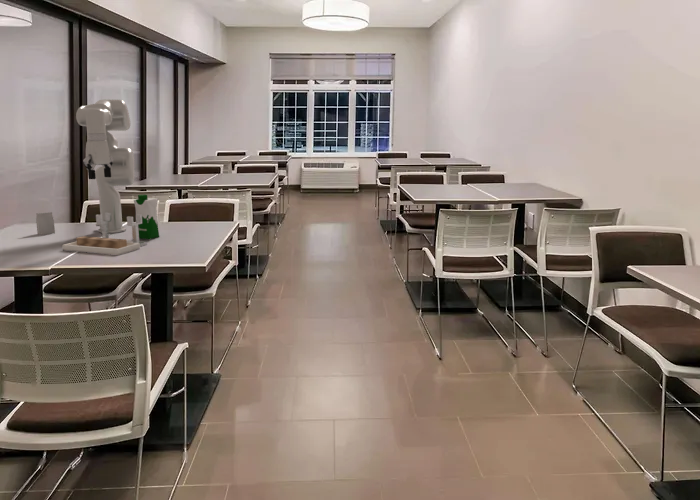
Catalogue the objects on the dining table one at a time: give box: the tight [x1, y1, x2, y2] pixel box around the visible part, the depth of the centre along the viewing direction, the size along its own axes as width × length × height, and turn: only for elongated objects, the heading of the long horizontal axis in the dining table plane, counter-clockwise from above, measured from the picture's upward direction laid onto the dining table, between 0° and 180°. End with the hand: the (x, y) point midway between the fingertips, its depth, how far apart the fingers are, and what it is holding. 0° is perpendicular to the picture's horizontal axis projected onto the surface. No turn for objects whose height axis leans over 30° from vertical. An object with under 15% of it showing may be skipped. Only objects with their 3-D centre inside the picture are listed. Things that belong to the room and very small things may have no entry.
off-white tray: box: [62, 240, 141, 256], centre depth 251 cm, size 28×14×2 cm, turn 72°
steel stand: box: [95, 213, 148, 248], centre depth 261 cm, size 22×7×13 cm, turn 72°
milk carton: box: [133, 194, 160, 240], centre depth 277 cm, size 9×9×20 cm
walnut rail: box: [75, 236, 127, 249], centre depth 251 cm, size 22×4×4 cm, turn 72°
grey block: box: [35, 211, 56, 236], centre depth 287 cm, size 4×7×10 cm, turn 132°
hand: (100, 178), depth 262 cm, fingers open, 9 cm apart
